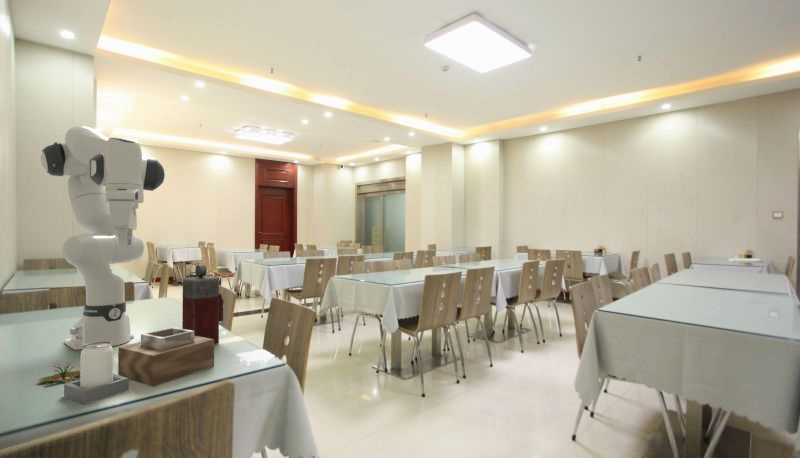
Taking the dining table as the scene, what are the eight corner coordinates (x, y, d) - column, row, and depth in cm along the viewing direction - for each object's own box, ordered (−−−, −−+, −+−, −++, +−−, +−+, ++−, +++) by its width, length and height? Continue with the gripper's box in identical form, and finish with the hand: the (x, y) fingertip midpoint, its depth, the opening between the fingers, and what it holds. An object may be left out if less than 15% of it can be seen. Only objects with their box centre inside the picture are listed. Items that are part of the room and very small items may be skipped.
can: (95, 399, 97) (95, 349, 97) (73, 397, 98) (73, 347, 98) (119, 389, 103) (119, 341, 103) (98, 387, 104) (98, 340, 104)
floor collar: (63, 396, 99) (63, 384, 99) (107, 383, 107) (107, 371, 107) (84, 404, 94) (84, 391, 94) (128, 390, 102) (128, 378, 102)
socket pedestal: (118, 376, 112) (118, 336, 112) (180, 358, 128) (180, 323, 128) (152, 386, 105) (153, 343, 105) (214, 366, 121) (214, 329, 121)
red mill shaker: (225, 341, 147) (225, 264, 147) (193, 348, 138) (194, 266, 139) (213, 337, 153) (213, 262, 153) (181, 344, 144) (182, 264, 144)
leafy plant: (84, 369, 119) (84, 354, 119) (97, 379, 111) (97, 362, 111) (29, 381, 109) (29, 364, 109) (38, 393, 102) (39, 374, 102)
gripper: (116, 199, 121) (117, 245, 121) (104, 191, 103) (105, 246, 102) (141, 199, 124) (142, 245, 124) (134, 192, 106) (135, 245, 105)
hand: (125, 245), depth 113 cm, fingers open, 8 cm apart
